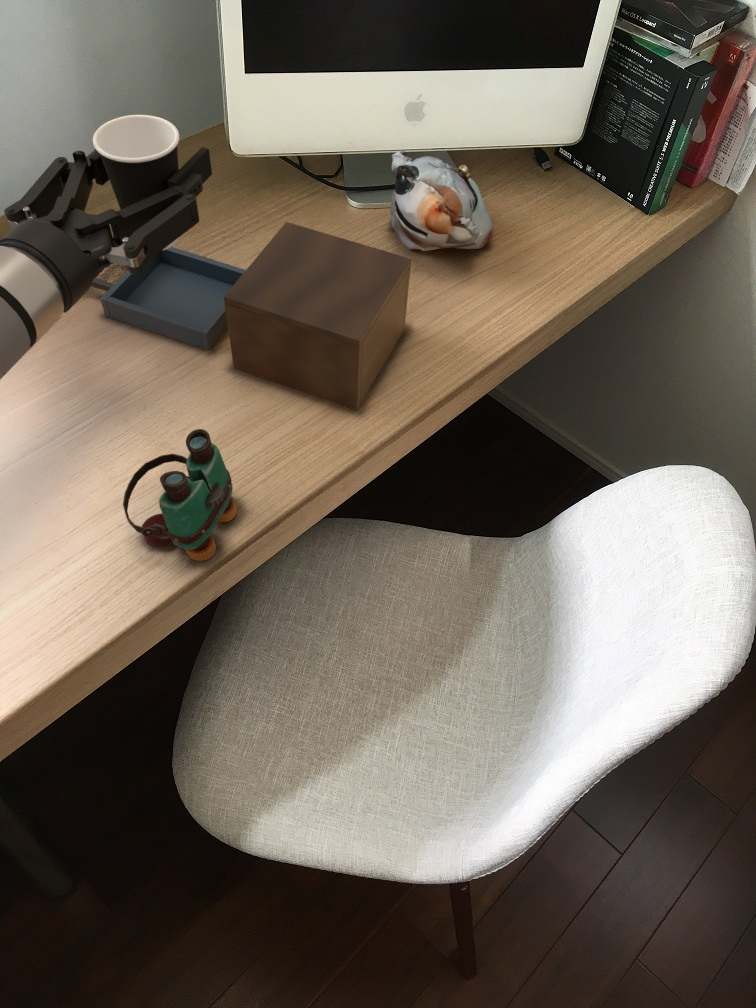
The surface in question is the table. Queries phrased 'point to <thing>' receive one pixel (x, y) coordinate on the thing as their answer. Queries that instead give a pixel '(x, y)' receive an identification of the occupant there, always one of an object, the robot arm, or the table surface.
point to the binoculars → (189, 499)
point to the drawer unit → (318, 313)
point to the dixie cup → (138, 156)
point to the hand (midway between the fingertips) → (169, 150)
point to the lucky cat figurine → (437, 205)
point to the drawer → (173, 296)
